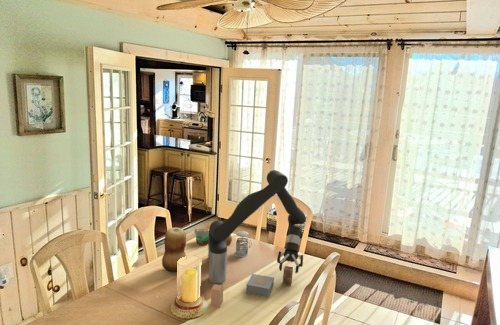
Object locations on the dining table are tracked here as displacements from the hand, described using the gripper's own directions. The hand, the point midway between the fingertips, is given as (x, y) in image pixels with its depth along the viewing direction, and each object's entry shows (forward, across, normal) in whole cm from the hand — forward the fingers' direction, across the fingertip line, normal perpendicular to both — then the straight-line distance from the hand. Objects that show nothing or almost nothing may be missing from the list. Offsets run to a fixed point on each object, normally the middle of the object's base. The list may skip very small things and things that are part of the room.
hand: (288, 271), depth 195 cm
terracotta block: (+27, -30, -18) cm, 44 cm away
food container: (-17, -64, +26) cm, 71 cm away
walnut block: (+5, 0, +4) cm, 6 cm away
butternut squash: (+11, -64, -1) cm, 65 cm away
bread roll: (-23, -51, +33) cm, 65 cm away
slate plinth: (+13, -13, -4) cm, 19 cm away
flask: (-2, -46, +12) cm, 47 cm away
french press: (-13, -33, +23) cm, 42 cm away
